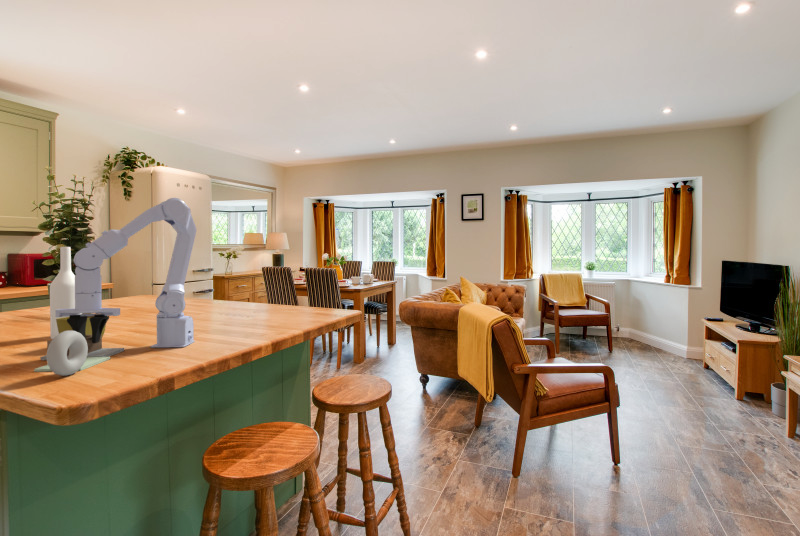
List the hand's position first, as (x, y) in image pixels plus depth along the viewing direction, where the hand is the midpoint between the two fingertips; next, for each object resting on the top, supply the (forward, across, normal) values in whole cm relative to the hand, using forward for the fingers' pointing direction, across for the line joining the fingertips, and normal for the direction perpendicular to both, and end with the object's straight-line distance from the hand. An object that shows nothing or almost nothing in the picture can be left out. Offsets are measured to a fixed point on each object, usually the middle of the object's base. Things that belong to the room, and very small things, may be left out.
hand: (88, 342), depth 108 cm
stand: (+3, +1, 0) cm, 3 cm away
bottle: (+4, +20, -28) cm, 35 cm away
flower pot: (+4, +8, -12) cm, 15 cm away
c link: (+2, +3, 0) cm, 4 cm away
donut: (+4, -6, +20) cm, 21 cm away
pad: (+3, -2, +11) cm, 11 cm away
